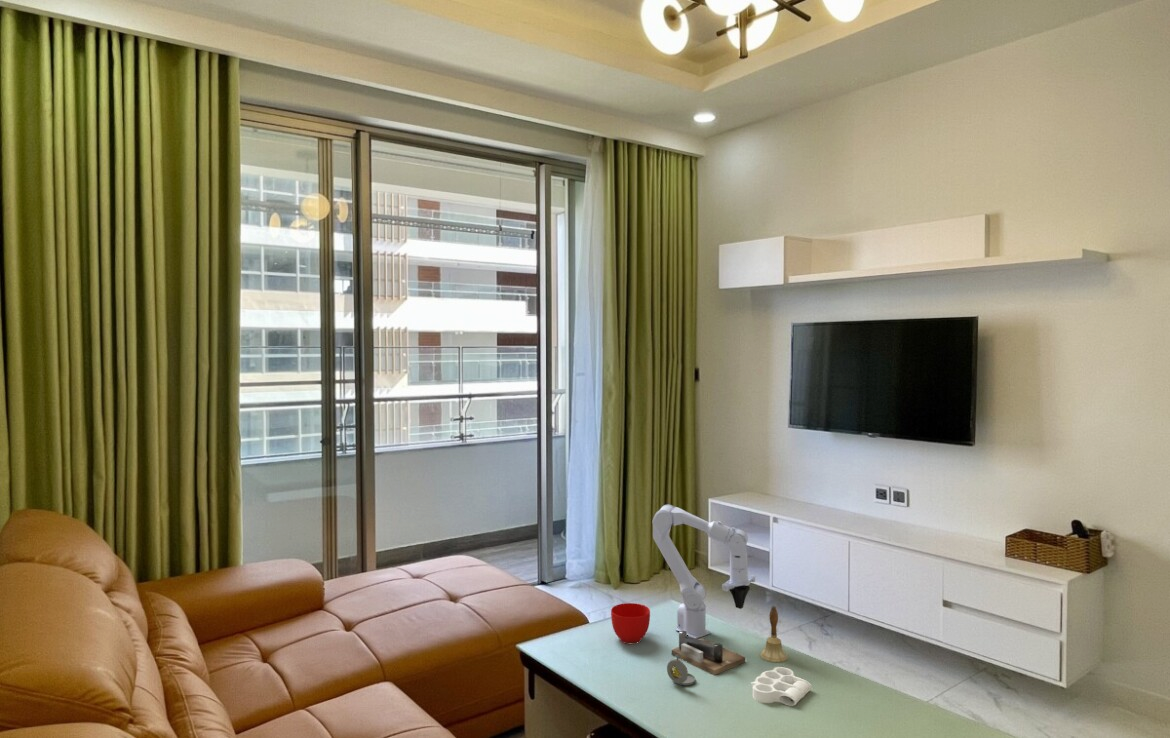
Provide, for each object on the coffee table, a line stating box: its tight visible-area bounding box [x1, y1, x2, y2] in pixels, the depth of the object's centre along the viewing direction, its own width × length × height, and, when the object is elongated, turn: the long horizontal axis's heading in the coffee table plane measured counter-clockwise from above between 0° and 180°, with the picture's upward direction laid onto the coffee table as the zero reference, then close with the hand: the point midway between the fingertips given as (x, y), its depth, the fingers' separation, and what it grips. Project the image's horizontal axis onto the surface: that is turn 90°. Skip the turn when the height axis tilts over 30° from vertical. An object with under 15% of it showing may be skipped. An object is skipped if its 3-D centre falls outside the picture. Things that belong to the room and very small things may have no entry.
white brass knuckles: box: [750, 666, 813, 707], centre depth 200 cm, size 3×18×15 cm
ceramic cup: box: [610, 602, 651, 644], centre depth 237 cm, size 13×17×10 cm
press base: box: [671, 637, 746, 676], centre depth 221 cm, size 18×14×4 cm
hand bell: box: [759, 605, 788, 663], centre depth 222 cm, size 8×8×16 cm
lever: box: [678, 631, 724, 662], centre depth 220 cm, size 16×3×5 cm, turn 48°
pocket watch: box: [666, 652, 696, 686], centre depth 206 cm, size 8×8×10 cm
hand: (739, 607), depth 236 cm, fingers closed
